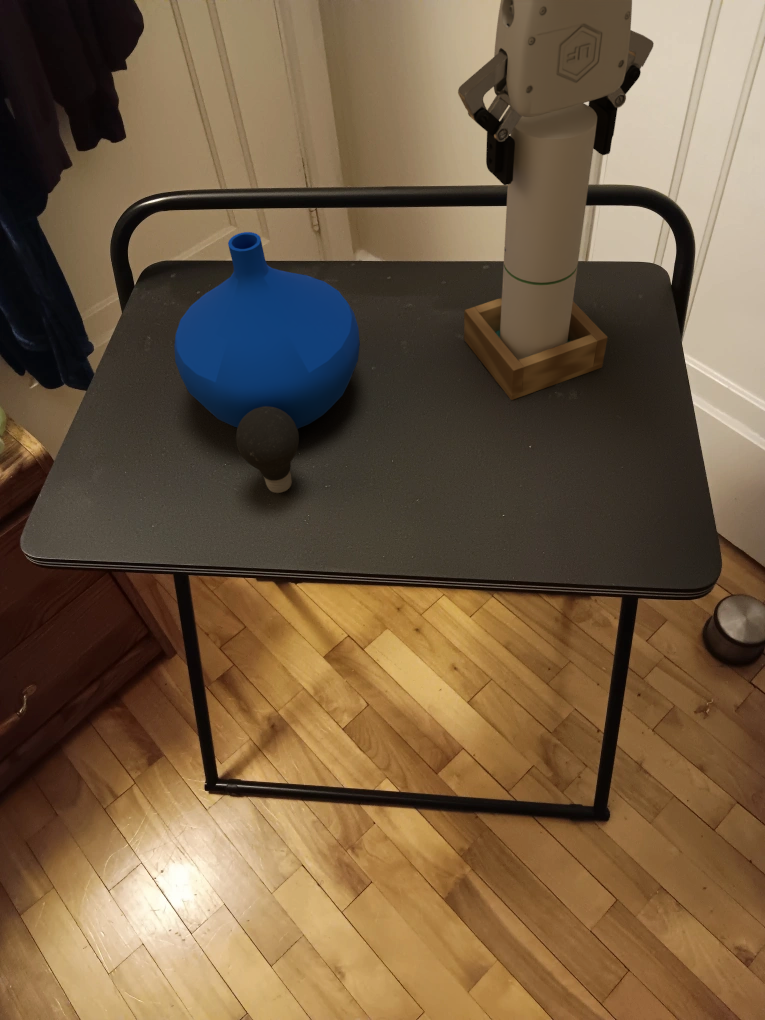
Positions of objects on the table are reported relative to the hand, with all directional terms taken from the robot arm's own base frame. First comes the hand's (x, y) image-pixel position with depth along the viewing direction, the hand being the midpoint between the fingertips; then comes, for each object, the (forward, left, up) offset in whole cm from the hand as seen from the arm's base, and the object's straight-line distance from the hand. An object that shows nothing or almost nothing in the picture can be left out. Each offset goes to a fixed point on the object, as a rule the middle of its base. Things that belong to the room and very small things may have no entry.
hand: (549, 162), depth 73 cm
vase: (+27, -6, -22) cm, 35 cm away
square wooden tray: (0, 0, -22) cm, 22 cm away
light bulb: (+31, +6, -22) cm, 38 cm away
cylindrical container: (0, 0, -21) cm, 21 cm away
